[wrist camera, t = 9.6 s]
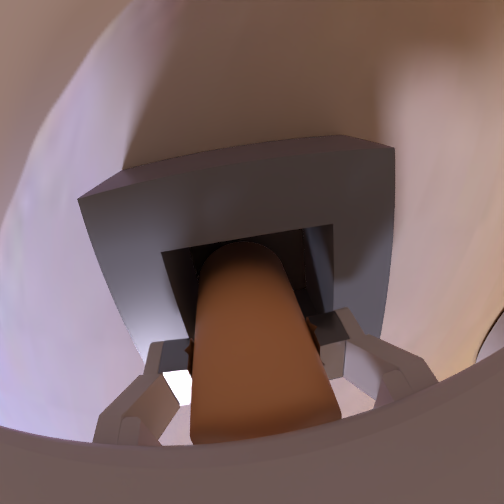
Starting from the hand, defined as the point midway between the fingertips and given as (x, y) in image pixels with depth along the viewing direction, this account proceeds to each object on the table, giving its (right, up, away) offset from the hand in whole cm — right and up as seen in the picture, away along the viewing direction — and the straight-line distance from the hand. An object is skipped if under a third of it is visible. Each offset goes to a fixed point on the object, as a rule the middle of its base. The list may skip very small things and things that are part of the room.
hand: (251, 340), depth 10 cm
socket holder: (0, +3, +6) cm, 6 cm away
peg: (0, +2, +4) cm, 4 cm away
